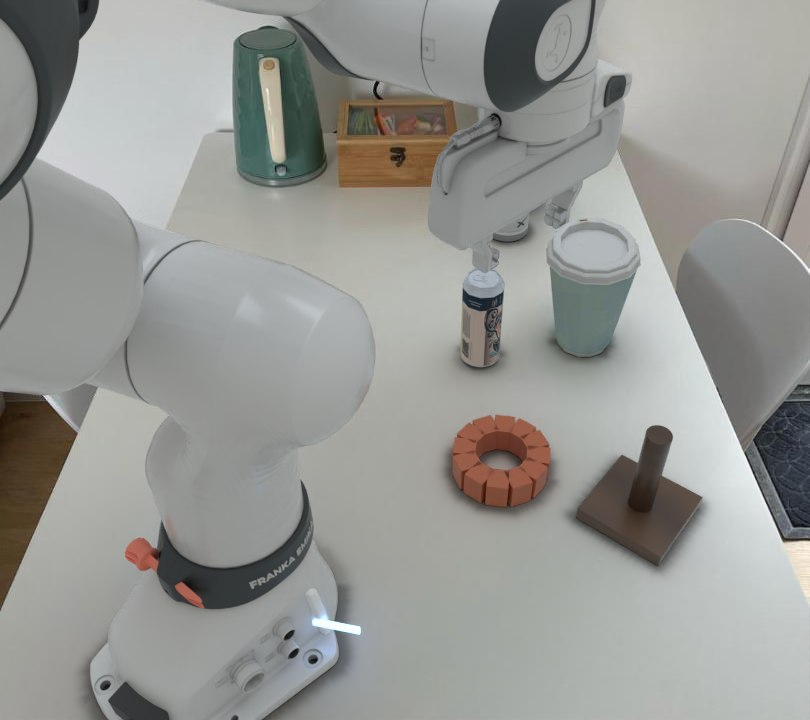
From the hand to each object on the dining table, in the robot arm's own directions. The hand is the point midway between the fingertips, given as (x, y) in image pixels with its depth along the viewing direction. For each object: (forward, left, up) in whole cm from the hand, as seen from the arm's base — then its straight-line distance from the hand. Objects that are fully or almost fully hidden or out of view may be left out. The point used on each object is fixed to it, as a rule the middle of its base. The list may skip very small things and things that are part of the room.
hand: (521, 244), depth 72 cm
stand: (0, -16, -26) cm, 30 cm away
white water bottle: (+34, +23, -26) cm, 49 cm away
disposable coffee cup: (+19, +2, -26) cm, 32 cm away
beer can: (+9, +10, -26) cm, 29 cm away
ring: (-4, -2, -26) cm, 26 cm away
